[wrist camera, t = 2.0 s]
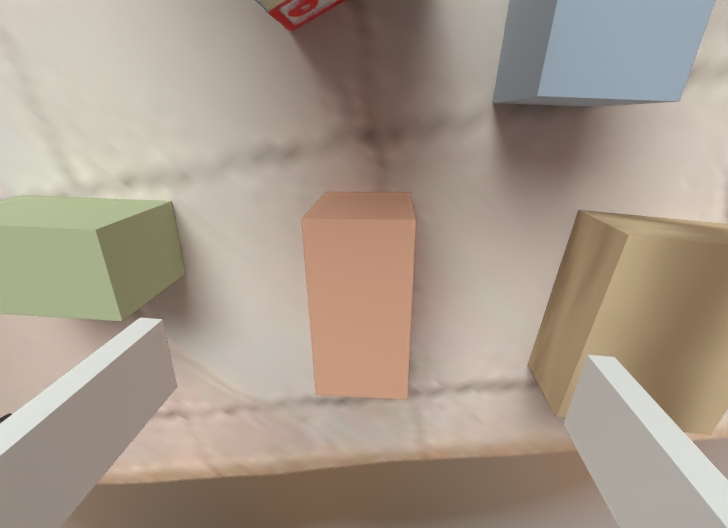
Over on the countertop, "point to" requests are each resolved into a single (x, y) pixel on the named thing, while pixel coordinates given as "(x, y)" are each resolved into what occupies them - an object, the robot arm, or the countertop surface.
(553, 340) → the oak double brick
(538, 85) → the slate blue brick
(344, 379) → the terracotta brick
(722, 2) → the countertop surface
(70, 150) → the countertop surface
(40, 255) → the olive brick
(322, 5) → the stack of blocks
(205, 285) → the countertop surface
